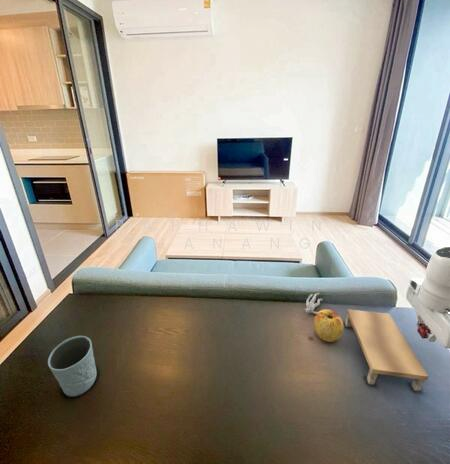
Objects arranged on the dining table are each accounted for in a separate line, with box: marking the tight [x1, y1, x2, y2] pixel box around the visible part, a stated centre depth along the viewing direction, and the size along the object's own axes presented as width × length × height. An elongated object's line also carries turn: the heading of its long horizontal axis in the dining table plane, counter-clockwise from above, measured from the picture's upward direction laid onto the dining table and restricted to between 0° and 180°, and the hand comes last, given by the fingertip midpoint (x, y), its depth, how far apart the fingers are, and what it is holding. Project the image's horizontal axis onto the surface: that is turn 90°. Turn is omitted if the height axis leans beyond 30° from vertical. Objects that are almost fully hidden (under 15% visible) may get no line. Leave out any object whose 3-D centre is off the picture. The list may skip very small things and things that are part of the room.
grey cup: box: [47, 335, 98, 397], centre depth 68 cm, size 10×10×12 cm
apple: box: [313, 308, 344, 343], centre depth 83 cm, size 9×9×10 cm
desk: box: [344, 308, 429, 392], centre depth 78 cm, size 14×22×6 cm, turn 172°
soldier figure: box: [303, 292, 324, 315], centre depth 96 cm, size 8×5×12 cm
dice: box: [416, 325, 432, 340], centre depth 77 cm, size 4×4×4 cm
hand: (424, 332), depth 77 cm, fingers closed on dice, 4 cm apart
